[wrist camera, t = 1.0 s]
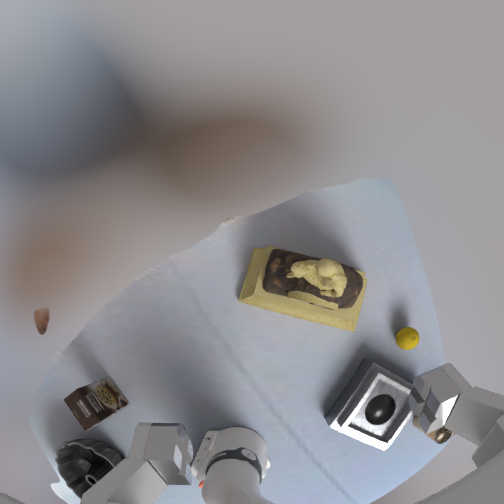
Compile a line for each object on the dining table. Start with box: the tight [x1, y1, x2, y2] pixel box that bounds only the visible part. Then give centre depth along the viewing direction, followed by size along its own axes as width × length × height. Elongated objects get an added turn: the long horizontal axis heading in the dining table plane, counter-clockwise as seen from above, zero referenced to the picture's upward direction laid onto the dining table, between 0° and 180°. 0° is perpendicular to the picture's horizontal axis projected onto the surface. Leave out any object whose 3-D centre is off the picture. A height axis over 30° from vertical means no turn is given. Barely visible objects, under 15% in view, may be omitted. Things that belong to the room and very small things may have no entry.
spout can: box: [413, 415, 455, 444], centre depth 51 cm, size 6×6×16 cm
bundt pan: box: [55, 439, 123, 499], centre depth 55 cm, size 26×26×10 cm
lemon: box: [396, 327, 419, 350], centre depth 60 cm, size 6×6×8 cm
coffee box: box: [64, 377, 129, 431], centre depth 56 cm, size 9×6×16 cm
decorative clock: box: [239, 245, 367, 332], centre depth 53 cm, size 28×13×30 cm, turn 74°
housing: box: [325, 358, 414, 451], centre depth 57 cm, size 18×18×8 cm
